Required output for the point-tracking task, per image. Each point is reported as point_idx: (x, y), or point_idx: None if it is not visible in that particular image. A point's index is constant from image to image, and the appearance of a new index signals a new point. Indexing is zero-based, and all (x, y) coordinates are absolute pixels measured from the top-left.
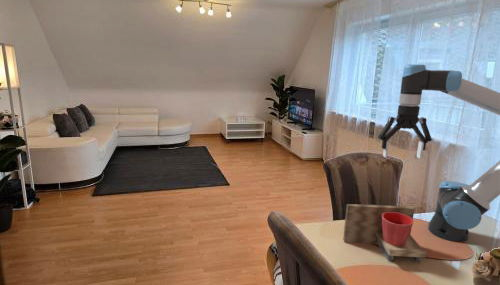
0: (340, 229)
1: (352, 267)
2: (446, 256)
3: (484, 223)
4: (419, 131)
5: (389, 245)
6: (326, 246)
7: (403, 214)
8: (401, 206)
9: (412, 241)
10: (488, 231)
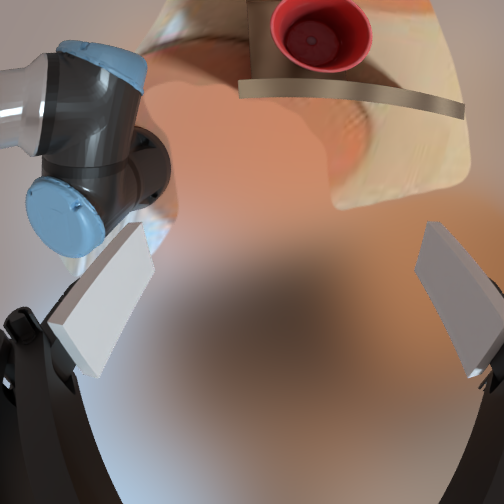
0: (401, 154)
1: (411, 8)
2: (178, 52)
3: None
4: (40, 484)
5: None
6: (447, 84)
7: (289, 55)
8: (282, 94)
9: (259, 44)
10: None
